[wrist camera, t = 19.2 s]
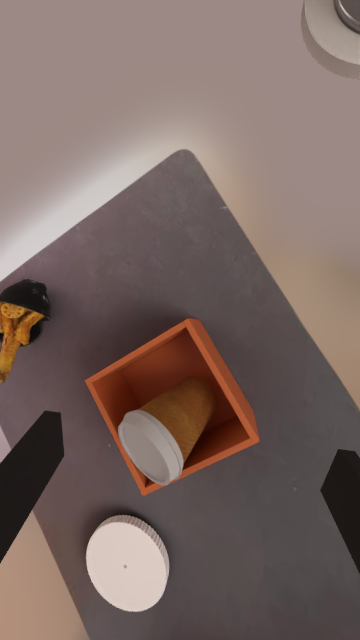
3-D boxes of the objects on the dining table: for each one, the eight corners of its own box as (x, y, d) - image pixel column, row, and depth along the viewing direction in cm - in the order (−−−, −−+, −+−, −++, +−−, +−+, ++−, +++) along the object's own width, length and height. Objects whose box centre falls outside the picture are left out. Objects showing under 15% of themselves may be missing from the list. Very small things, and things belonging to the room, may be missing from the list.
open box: (199, 319, 40) (188, 318, 30) (253, 411, 38) (260, 441, 28) (117, 367, 43) (84, 380, 33) (164, 455, 41) (142, 496, 31)
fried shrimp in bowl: (54, 279, 40) (10, 390, 35) (68, 300, 51) (35, 389, 46) (-6, 262, 39) (-62, 376, 34) (21, 288, 49) (-19, 378, 44)
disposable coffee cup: (237, 424, 34) (186, 500, 26) (188, 417, 41) (135, 475, 33) (213, 364, 33) (150, 424, 25) (166, 367, 40) (105, 414, 31)
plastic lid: (133, 611, 42) (127, 629, 39) (79, 543, 44) (70, 556, 42) (188, 561, 40) (185, 577, 37) (129, 493, 42) (122, 504, 40)
